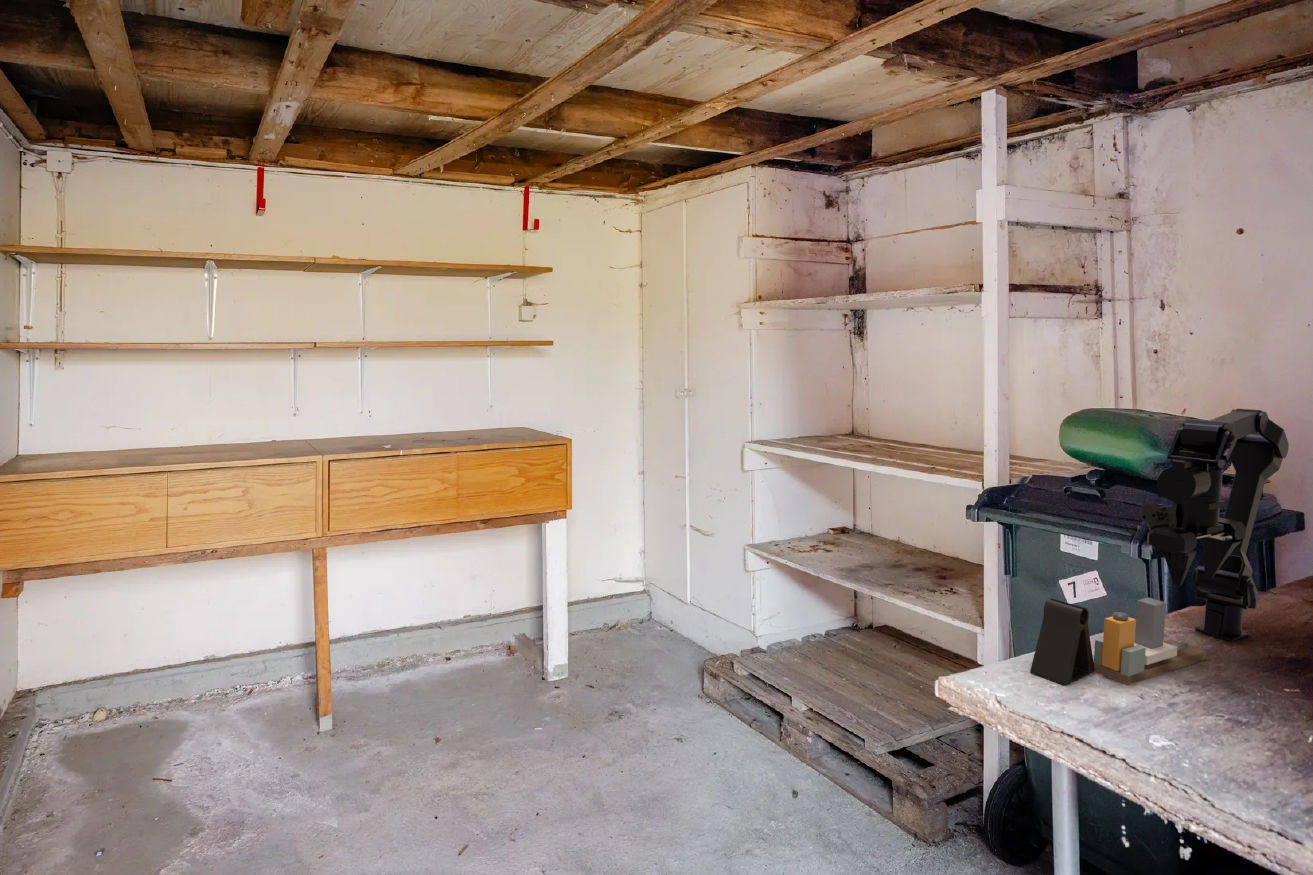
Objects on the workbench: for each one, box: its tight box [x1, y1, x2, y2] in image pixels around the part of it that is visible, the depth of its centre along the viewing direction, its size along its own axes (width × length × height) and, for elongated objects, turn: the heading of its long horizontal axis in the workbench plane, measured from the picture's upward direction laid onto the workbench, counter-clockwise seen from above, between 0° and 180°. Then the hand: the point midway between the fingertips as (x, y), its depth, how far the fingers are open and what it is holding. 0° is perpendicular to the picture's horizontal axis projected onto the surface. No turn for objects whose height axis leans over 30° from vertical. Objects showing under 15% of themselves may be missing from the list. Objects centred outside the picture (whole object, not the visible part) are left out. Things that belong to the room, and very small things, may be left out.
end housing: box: [1093, 637, 1146, 676], centre depth 133 cm, size 4×6×4 cm, turn 26°
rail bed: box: [1094, 639, 1207, 686], centre depth 137 cm, size 21×6×2 cm, turn 116°
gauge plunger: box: [1102, 611, 1136, 671], centre depth 132 cm, size 4×3×9 cm
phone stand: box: [1029, 598, 1095, 686], centre depth 134 cm, size 9×6×12 cm, turn 123°
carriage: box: [1134, 597, 1177, 665], centre depth 135 cm, size 9×6×9 cm, turn 116°
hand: (1193, 581), depth 140 cm, fingers open, 9 cm apart
